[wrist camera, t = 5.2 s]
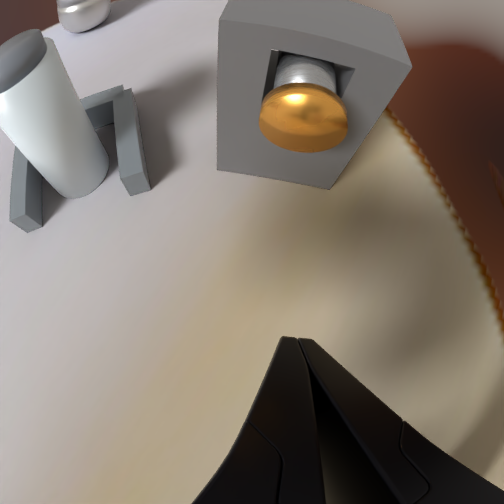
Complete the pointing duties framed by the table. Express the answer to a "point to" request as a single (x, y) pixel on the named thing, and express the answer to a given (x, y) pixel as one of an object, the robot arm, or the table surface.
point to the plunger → (303, 106)
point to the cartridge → (48, 116)
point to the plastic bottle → (82, 14)
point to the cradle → (100, 114)
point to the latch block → (313, 45)
